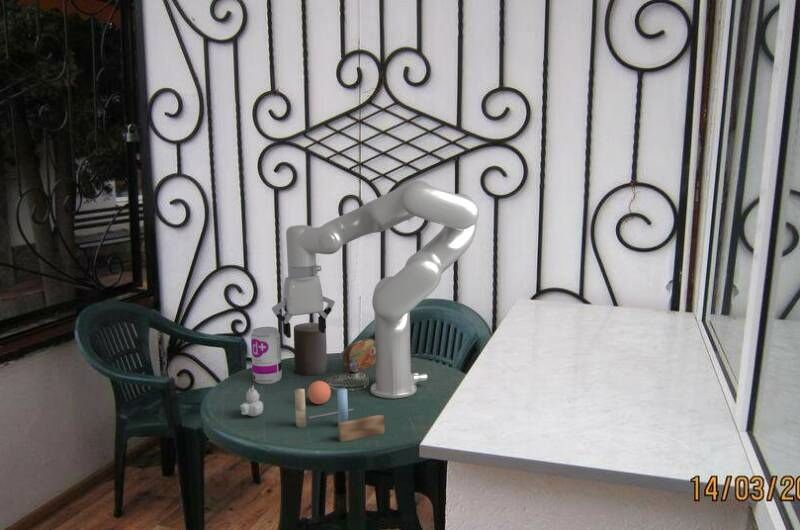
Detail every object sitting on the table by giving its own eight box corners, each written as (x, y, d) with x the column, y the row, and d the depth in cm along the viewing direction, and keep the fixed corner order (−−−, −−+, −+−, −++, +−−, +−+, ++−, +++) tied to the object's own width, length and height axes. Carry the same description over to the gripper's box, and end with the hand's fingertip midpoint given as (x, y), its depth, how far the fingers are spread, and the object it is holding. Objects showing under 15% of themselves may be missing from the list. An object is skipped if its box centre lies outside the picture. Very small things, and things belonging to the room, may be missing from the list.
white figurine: (269, 414, 182) (267, 384, 181) (248, 422, 177) (246, 391, 176) (255, 409, 186) (253, 380, 184) (234, 417, 181) (232, 387, 179)
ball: (326, 397, 193) (325, 376, 192) (334, 405, 188) (333, 382, 187) (305, 401, 191) (304, 380, 190) (312, 409, 185) (311, 386, 184)
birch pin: (304, 423, 176) (302, 387, 175) (307, 426, 174) (305, 390, 173) (294, 424, 175) (293, 389, 174) (297, 428, 173) (296, 392, 172)
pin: (346, 423, 176) (345, 387, 174) (349, 426, 174) (348, 390, 172) (337, 425, 175) (335, 389, 173) (340, 428, 172) (339, 392, 171)
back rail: (381, 430, 171) (381, 414, 170) (384, 432, 169) (384, 416, 169) (338, 439, 166) (337, 423, 165) (340, 442, 165) (340, 425, 164)
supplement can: (268, 386, 203) (266, 335, 200) (247, 381, 207) (244, 331, 205) (287, 378, 210) (285, 328, 207) (266, 373, 214) (263, 324, 211)
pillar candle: (295, 377, 210) (294, 327, 208) (293, 366, 220) (292, 319, 217) (329, 374, 212) (328, 325, 210) (325, 364, 222) (324, 317, 219)
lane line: (352, 409, 185) (352, 408, 185) (353, 410, 184) (353, 409, 184) (307, 417, 180) (307, 417, 179) (309, 419, 179) (308, 418, 179)
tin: (350, 376, 211) (349, 348, 209) (341, 374, 212) (340, 346, 211) (379, 362, 223) (378, 336, 222) (371, 360, 225) (370, 334, 223)
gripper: (328, 266, 199) (330, 327, 202) (266, 272, 192) (269, 335, 195) (337, 271, 192) (340, 333, 195) (274, 277, 185) (277, 342, 188)
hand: (305, 334), depth 195 cm, fingers open, 9 cm apart
